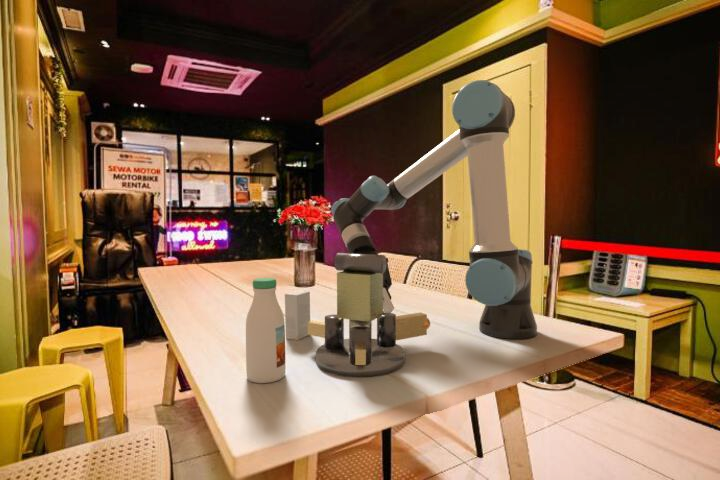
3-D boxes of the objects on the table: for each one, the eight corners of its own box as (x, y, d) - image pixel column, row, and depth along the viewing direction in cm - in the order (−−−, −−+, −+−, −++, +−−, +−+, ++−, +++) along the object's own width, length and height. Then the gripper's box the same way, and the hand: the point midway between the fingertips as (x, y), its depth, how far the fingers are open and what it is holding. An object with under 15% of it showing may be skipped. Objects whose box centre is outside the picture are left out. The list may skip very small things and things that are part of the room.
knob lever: (383, 348, 96) (383, 318, 95) (373, 343, 100) (373, 314, 99) (434, 338, 103) (434, 310, 103) (423, 334, 107) (423, 306, 107)
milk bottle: (266, 387, 81) (264, 283, 79) (238, 379, 85) (236, 280, 83) (293, 374, 87) (292, 278, 86) (266, 367, 91) (264, 275, 90)
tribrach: (417, 353, 100) (417, 251, 99) (378, 389, 79) (378, 262, 78) (328, 339, 111) (328, 248, 109) (274, 369, 90) (272, 256, 88)
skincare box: (297, 332, 117) (297, 289, 117) (310, 334, 115) (310, 291, 115) (284, 338, 112) (284, 293, 111) (298, 340, 110) (297, 295, 109)
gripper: (372, 250, 129) (404, 316, 115) (334, 252, 122) (363, 322, 109) (382, 233, 124) (416, 300, 110) (342, 234, 117) (373, 305, 104)
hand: (389, 311), depth 110 cm, fingers closed
